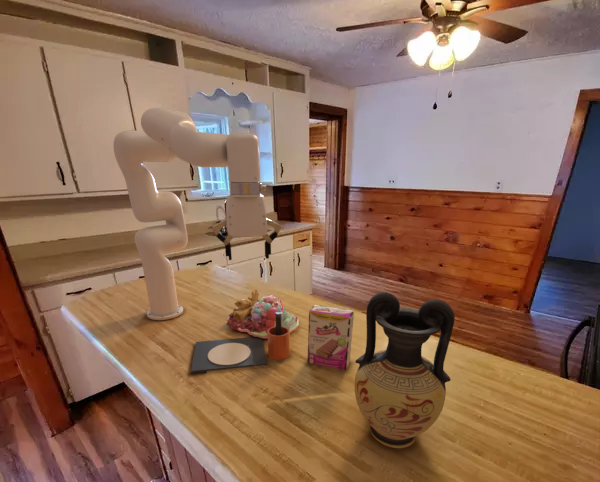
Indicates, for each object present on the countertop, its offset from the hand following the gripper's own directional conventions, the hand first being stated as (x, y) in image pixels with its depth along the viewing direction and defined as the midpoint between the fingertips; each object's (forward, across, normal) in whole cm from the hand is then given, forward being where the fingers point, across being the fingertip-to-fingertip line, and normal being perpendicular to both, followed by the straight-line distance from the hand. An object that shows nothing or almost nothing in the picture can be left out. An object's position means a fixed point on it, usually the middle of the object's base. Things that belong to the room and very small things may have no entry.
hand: (248, 258), depth 89 cm
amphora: (+28, -26, +38) cm, 54 cm away
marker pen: (+28, -7, +4) cm, 29 cm away
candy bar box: (+28, -20, +11) cm, 37 cm away
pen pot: (+28, -7, +4) cm, 29 cm away
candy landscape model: (+28, -5, -18) cm, 34 cm away
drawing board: (+28, +7, +1) cm, 29 cm away
